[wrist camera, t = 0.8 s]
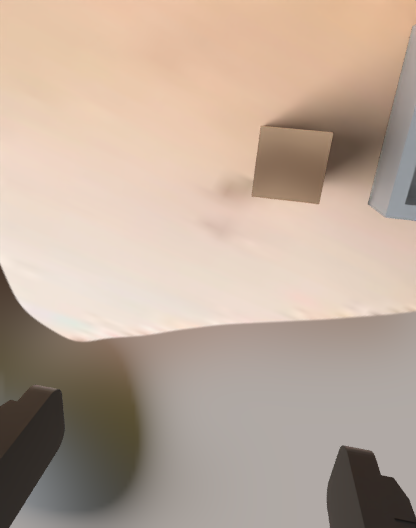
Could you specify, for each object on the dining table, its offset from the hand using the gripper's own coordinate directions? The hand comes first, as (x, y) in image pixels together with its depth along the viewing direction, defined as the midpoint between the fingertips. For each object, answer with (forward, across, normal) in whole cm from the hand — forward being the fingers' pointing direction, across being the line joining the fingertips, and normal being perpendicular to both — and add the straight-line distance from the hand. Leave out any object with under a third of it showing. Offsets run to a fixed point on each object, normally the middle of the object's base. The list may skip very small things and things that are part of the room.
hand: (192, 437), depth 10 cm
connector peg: (+22, -2, -6) cm, 23 cm away
